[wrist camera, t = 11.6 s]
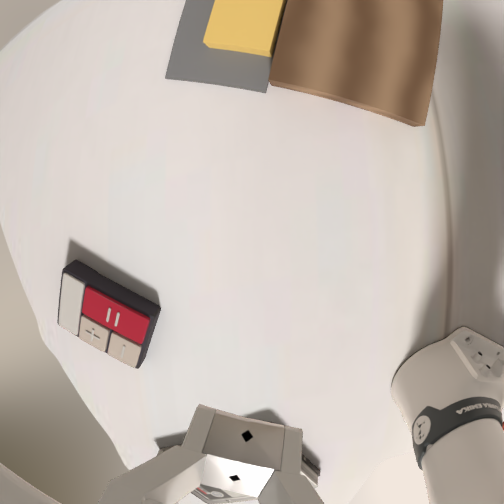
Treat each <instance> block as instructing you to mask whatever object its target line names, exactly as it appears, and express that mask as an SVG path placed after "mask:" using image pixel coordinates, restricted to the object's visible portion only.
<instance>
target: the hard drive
mask: <svg viewBox="0 0 504 504" xmlns="http://www.w3.org/2000/svg"><path fill="white" fill-rule="evenodd" d="M270 423H272V422H270ZM177 446H180V447H181V446H182V445H177ZM172 447H174V446H171V447H166V448H161V449H160V450H159V452H158V454H157V456H158V455H160V454H161V453H163V452H165V451H167V450H169V449H170V448H172ZM300 475H305V476H306V477H307V479H308V480H309V482H310V483H311V485H312V486H313V488H317V485H318V476H320V470H319V469H318V468H316V467H315V466H314V465H313V464H312V463H311V462H310V461H309V460H308V459H307V458H306V457H305V456H304V455H303V454H302V457H301V473H300ZM191 493H192V494H194V495H195V496H196V497H198V498H199V499H201V500H202V501H204V502H205V503H208V504H221V503H232V502H241V501H249V500H257V498H258V497H253V496H249V495H244V494H240V493H236V492H232V491H228V490H224V489H219V488H215V487H211V486H207V485H203V484H200V486H199V487H197V488H196V489H195V490H193V491H192V492H191Z"/></svg>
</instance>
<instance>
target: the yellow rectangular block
mask: <svg viewBox="0 0 504 504" xmlns="http://www.w3.org/2000/svg"><path fill="white" fill-rule="evenodd" d="M286 1H287V0H215V2H214V5H213V8H212V12H211V15H210V18H209V22H208V25H207V29H206V32H205V36H204V39H203V43H205V44H206V45H207V46H208V47H209V48H215V49H223V50H231V51H238V52H244V53H250V54H256V55H262V56H267V57H272V54H273V51H274V47H275V43H276V39H277V35H278V31H279V27H280V24H281V20H282V16H283V12H284V9H285V5H286Z"/></svg>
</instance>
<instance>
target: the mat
mask: <svg viewBox="0 0 504 504" xmlns="http://www.w3.org/2000/svg"><path fill="white" fill-rule="evenodd" d="M287 1H288V0H287ZM287 1H286V4H287ZM214 2H215V0H186V2H185V6H184V9H183V12H182V15H181V19H180V22H179V26H178V29H177V33H176V37H175V40H174V44H173V48H172V52H171V56H170V60H169V64H168V68H167V72H166V76H165V79H173V80H183V81H192V82H200V83H208V84H215V85H222V86H228V87H234V88H240V89H246V90H251V91H257V92H262V93H266V90H267V86H268V82H269V80H268V78H269V74H270V70H271V66H272V61H273V57H274V53H275V49H276V45H277V41H278V37H279V33H280V29H281V24H282V20H283V16H284V12H285V9H284V12H283V16H282V20H281V24H280V27H279V31H278V35H277V39H276V43H275V47H274V51H273V54H272V57H267V56H262V55H256V54H250V53H244V52H238V51H231V50H223V49H215V48H209V47H208V46H207V45H206V44H205V43H203V39H204V36H205V32H206V29H207V25H208V22H209V18H210V15H211V12H212V8H213V5H214ZM285 8H286V5H285Z"/></svg>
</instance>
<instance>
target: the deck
mask: <svg viewBox="0 0 504 504" xmlns="http://www.w3.org/2000/svg"><path fill="white" fill-rule="evenodd" d="M442 10H443V0H288V1H287V4H286V8H285V12H284V16H283V20H282V24H281V29H280V33H279V37H278V41H277V45H276V49H275V53H274V57H273V61H272V66H271V70H270V74H269V78H268V80H269V82H270V84H271V85H272V86H277V87H281V88H286V89H291V90H295V91H299V92H303V93H308V94H312V95H316V96H319V97H323V98H327V99H331V100H334V101H338V102H341V103H345V104H348V105H352V106H355V107H358V108H361V109H365V110H368V111H371V112H374V113H377V114H380V115H383V116H386V117H389V118H391V119H394V120H397V121H400V122H402V123H405V124H408V125H410V126H413V127H415V126H425V121H426V117H427V112H428V107H429V102H430V97H431V92H432V86H433V80H434V74H435V68H436V62H437V55H438V48H439V40H440V31H441V22H442Z"/></svg>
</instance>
